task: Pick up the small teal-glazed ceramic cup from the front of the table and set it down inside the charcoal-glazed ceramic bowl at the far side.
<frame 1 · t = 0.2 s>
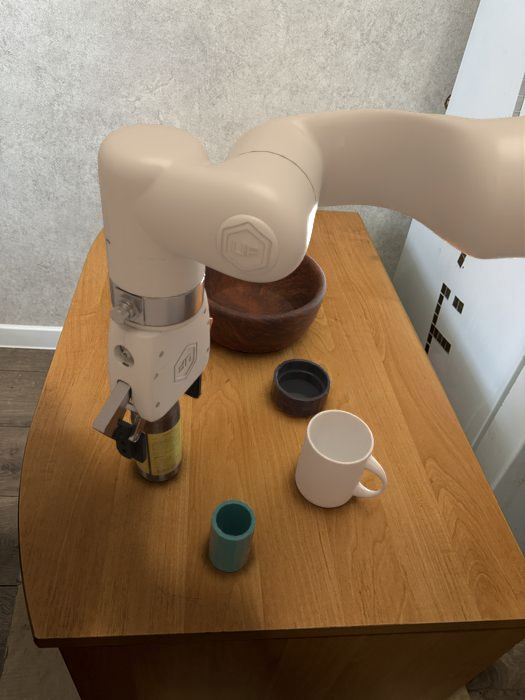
hand: (161, 421, 55), 19 cm above the table, tool pointing down, fingers open, 9 cm apart
wooden bowl: (250, 318, 99), on the table
bowl: (297, 398, 85), on the table
cup: (228, 552, 65), on the table
mug: (334, 489, 74), on the table
sauce bottle: (158, 465, 74), on the table
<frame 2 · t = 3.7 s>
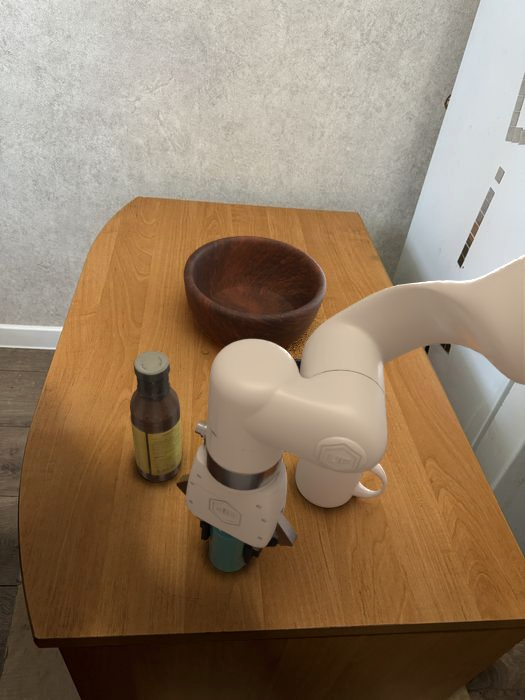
hand: (230, 541, 63), 3 cm above the table, tool pointing down, fingers closed on cup, 5 cm apart
cup: (228, 552, 65), on the table, touching gripper
everything else where it was.
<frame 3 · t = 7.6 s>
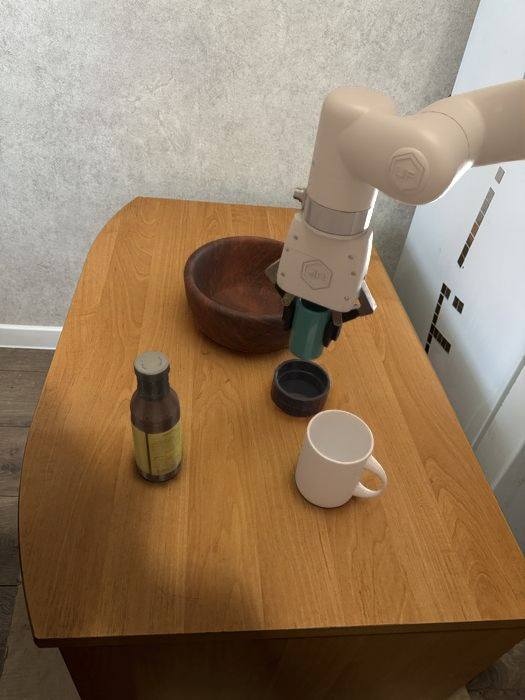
hand: (309, 332, 71), 17 cm above the table, tool pointing down, fingers closed on cup, 5 cm apart
cup: (305, 347, 73), point 14 cm above the table, touching gripper
everything else where it was.
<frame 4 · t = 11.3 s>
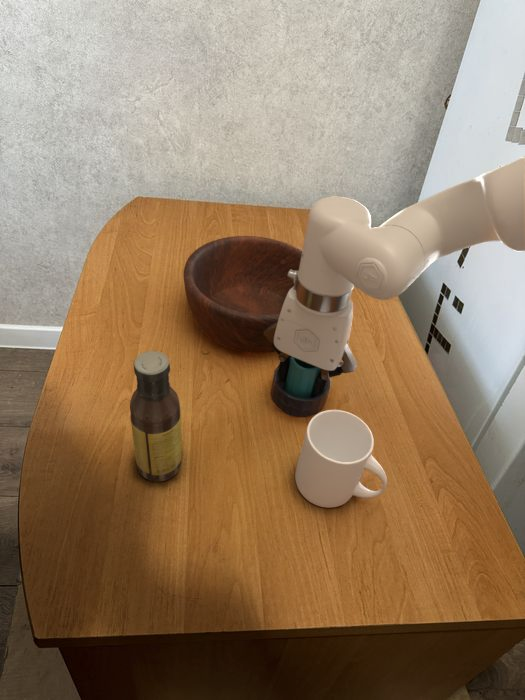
hand: (301, 382, 83), 4 cm above the table, tool pointing down, fingers closed on cup, 5 cm apart
cup: (298, 394, 85), point 1 cm above the table, touching gripper
everything else where it was.
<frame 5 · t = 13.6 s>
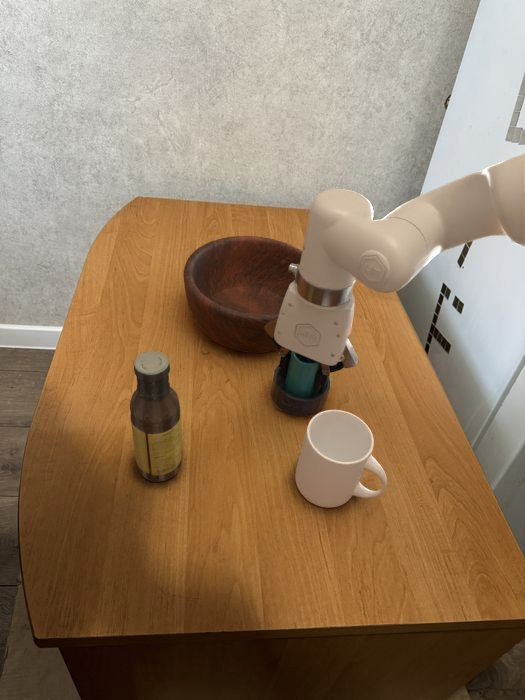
hand: (302, 377, 82), 5 cm above the table, tool pointing down, fingers closed on cup, 5 cm apart
cup: (299, 390, 84), point 2 cm above the table, touching gripper
everything else where it was.
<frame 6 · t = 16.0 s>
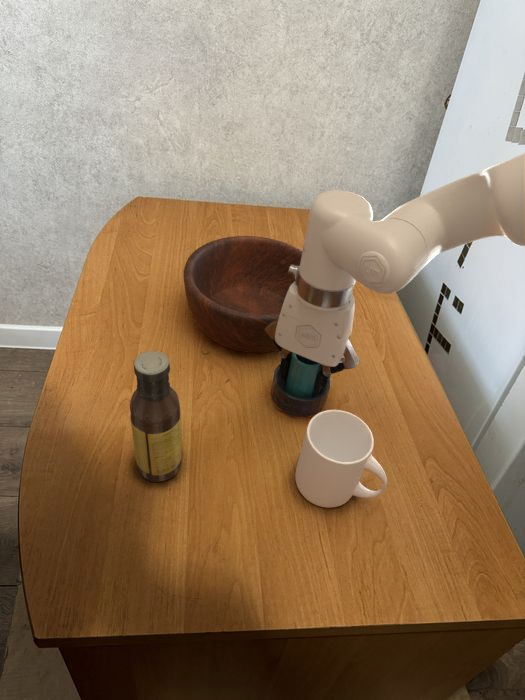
hand: (303, 379, 82), 5 cm above the table, tool pointing down, fingers closed on cup, 5 cm apart
cup: (300, 391, 84), point 2 cm above the table, touching gripper
everything else where it was.
when the fingers open (5 cm above the table, at t = 20.5 s): cup drops 2 cm, resting on bowl.
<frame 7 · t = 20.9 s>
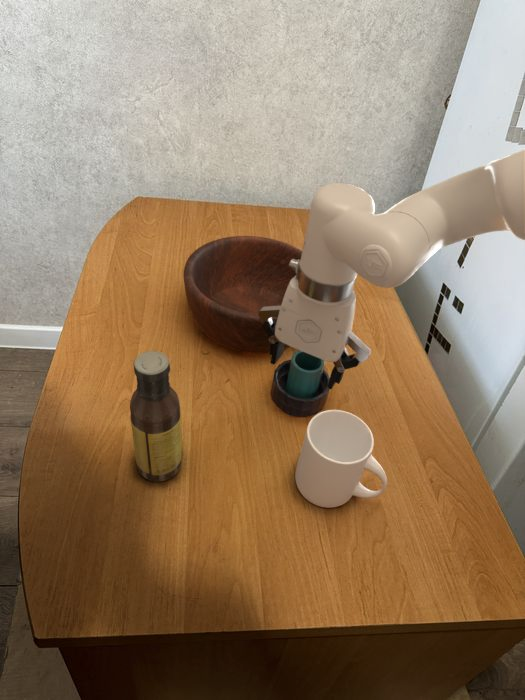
hand: (304, 370, 81), 6 cm above the table, tool pointing down, fingers open, 9 cm apart
cup: (299, 396, 85), point 1 cm above the table, touching bowl
everything else where it was.
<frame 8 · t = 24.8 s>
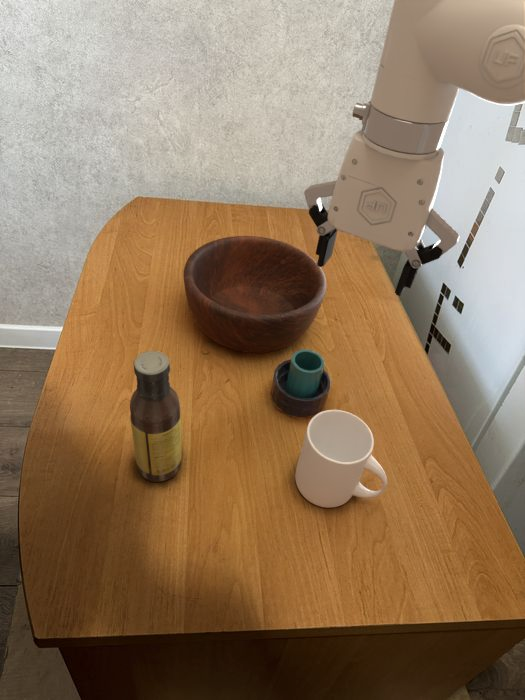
hand: (361, 275, 63), 28 cm above the table, tool pointing down, fingers open, 9 cm apart
nothing on the table moved.
at the end: cup 0.2 cm off-centre in the bowl, point 0.6 cm above the bowl's base; cup tilted 0°; the gripper is holding nothing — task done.
